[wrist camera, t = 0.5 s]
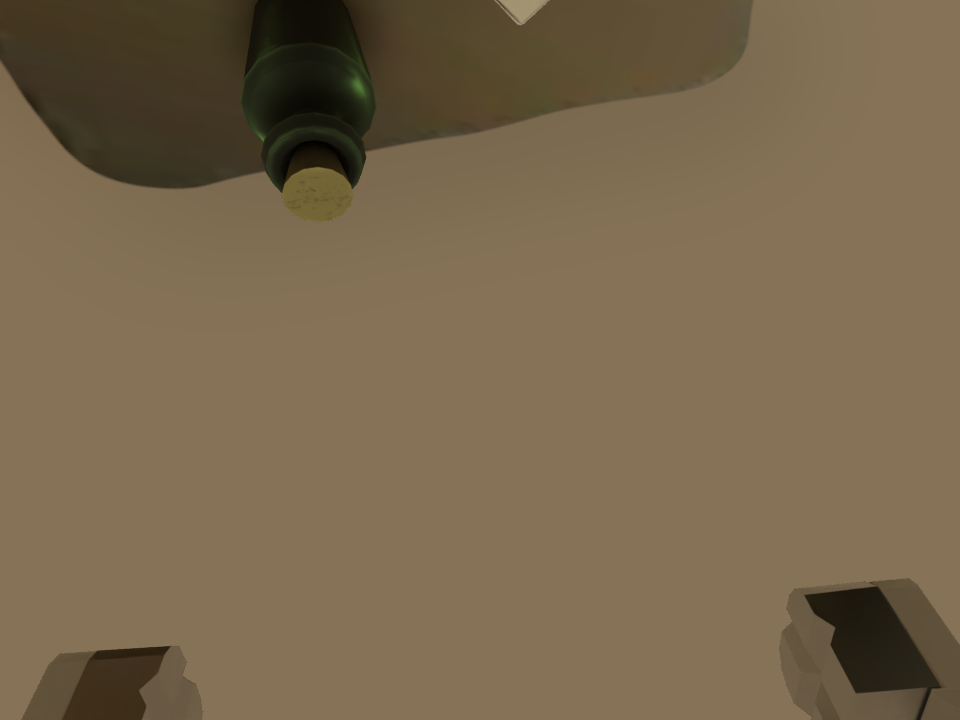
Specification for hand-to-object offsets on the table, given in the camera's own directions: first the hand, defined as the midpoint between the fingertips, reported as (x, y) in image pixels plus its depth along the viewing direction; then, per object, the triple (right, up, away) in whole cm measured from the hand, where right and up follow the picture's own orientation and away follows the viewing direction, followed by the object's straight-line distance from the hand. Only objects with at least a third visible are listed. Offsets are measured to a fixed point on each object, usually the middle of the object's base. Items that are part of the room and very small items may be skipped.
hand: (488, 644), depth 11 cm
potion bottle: (-12, +27, +43) cm, 53 cm away
